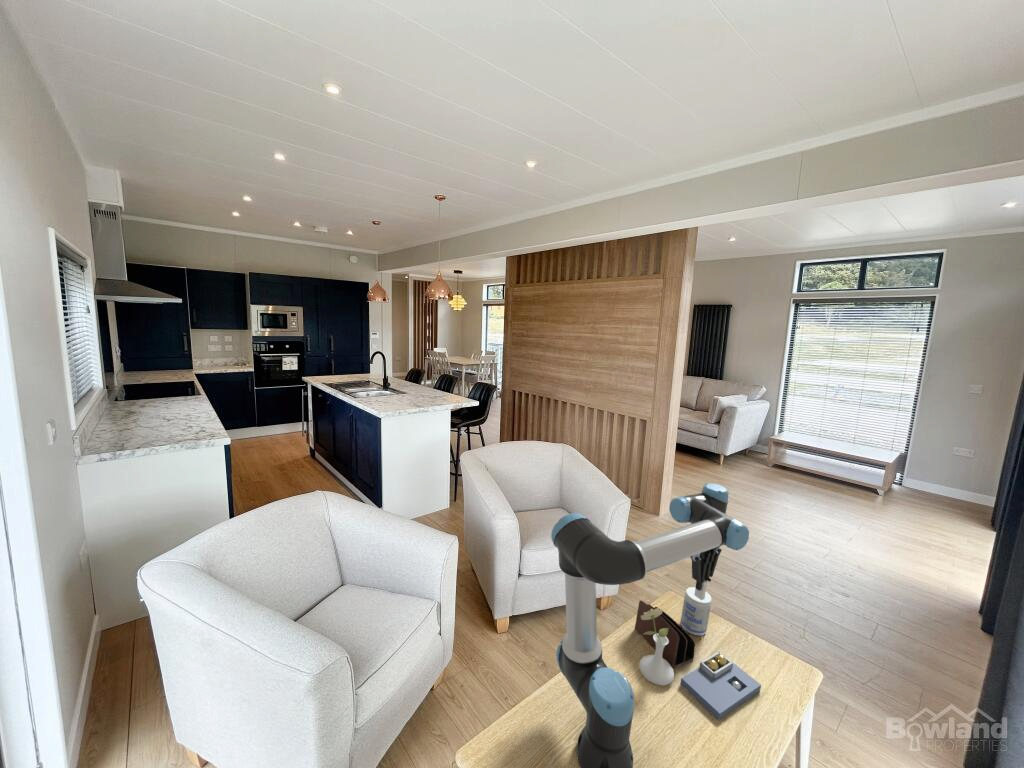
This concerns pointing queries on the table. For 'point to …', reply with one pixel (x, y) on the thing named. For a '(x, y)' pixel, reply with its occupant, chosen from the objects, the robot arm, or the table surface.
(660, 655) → the flower in vase
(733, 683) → the steel ball
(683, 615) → the supplement tub
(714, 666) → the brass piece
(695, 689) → the deck
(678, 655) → the letter holder
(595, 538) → the robot arm
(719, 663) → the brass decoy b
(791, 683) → the table surface
